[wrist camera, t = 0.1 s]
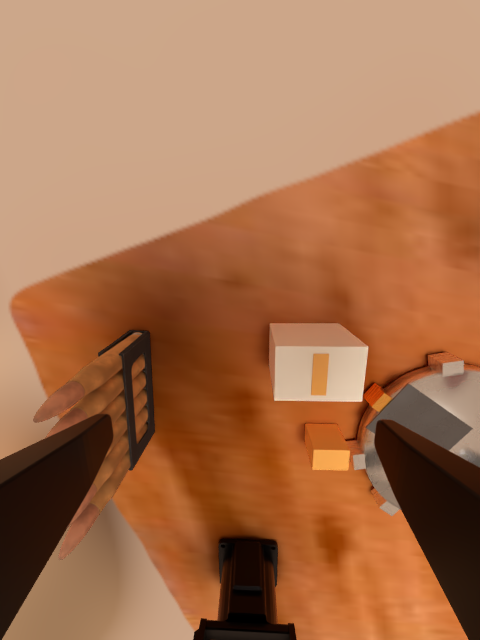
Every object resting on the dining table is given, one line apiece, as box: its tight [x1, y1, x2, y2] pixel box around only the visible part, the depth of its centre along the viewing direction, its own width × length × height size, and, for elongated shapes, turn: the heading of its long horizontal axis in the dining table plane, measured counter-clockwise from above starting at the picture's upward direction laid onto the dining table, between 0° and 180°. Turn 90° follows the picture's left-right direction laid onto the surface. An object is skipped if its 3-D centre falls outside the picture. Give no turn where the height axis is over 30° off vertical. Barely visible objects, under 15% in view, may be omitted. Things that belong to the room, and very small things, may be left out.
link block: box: [269, 323, 368, 402], centre depth 20 cm, size 4×6×6 cm, turn 91°
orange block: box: [304, 423, 350, 470], centre depth 24 cm, size 2×3×4 cm, turn 91°
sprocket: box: [346, 352, 480, 516], centre depth 23 cm, size 17×17×4 cm
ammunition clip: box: [33, 330, 155, 560], centre depth 19 cm, size 11×2×12 cm, turn 178°
